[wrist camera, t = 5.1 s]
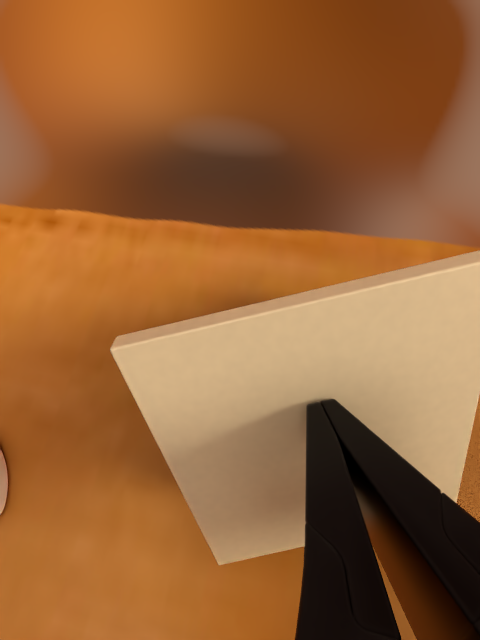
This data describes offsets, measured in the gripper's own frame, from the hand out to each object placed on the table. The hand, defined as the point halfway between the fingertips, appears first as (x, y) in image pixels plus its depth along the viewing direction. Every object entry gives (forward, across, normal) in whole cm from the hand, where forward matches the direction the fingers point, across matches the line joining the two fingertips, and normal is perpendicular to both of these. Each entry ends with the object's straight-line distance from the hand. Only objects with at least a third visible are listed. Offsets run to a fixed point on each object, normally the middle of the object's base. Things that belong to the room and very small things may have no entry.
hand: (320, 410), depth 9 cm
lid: (0, 0, +2) cm, 2 cm away
